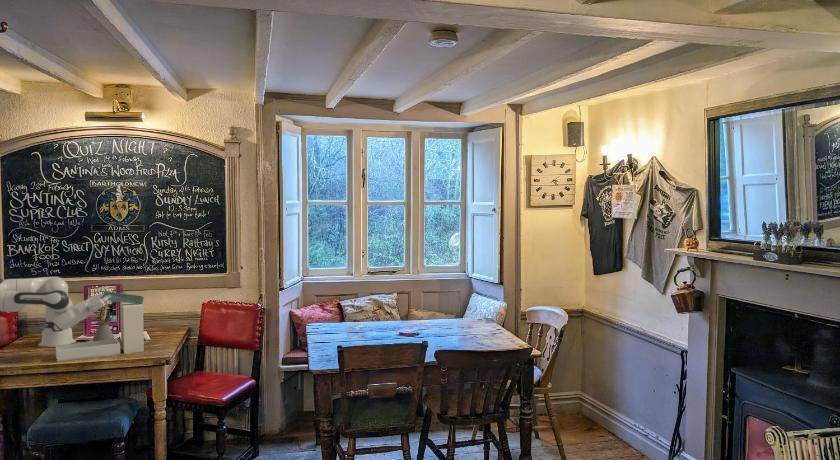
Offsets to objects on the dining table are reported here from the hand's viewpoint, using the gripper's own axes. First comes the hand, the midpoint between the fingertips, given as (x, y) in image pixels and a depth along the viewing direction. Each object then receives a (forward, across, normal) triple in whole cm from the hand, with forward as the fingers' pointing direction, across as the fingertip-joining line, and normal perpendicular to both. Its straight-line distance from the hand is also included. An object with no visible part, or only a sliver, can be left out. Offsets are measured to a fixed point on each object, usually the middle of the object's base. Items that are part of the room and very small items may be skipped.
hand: (109, 294), depth 338 cm
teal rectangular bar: (+3, 0, +7) cm, 8 cm away
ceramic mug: (-3, +14, +36) cm, 39 cm away
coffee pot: (-16, +31, +29) cm, 45 cm away
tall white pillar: (-7, 0, +34) cm, 34 cm away
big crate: (-26, 0, +22) cm, 34 cm away
